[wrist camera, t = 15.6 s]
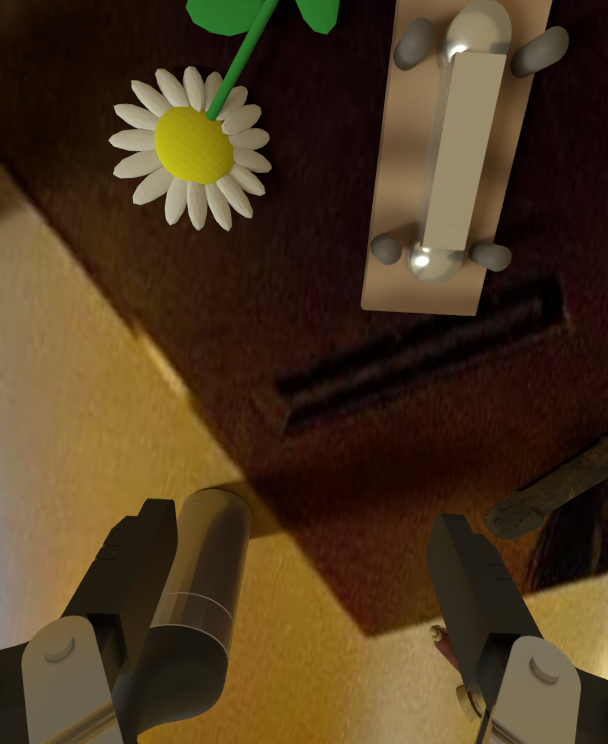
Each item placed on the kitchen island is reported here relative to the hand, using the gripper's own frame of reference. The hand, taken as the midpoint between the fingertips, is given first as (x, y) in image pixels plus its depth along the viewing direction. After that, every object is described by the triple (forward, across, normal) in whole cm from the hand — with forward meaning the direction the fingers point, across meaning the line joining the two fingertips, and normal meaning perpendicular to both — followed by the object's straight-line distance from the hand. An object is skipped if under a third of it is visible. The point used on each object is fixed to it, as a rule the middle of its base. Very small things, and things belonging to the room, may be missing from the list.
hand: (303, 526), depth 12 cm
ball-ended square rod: (+28, -11, -12) cm, 33 cm away
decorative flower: (+30, +5, -20) cm, 37 cm away
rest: (+30, -11, -12) cm, 34 cm away
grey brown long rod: (+30, -31, +22) cm, 49 cm away
